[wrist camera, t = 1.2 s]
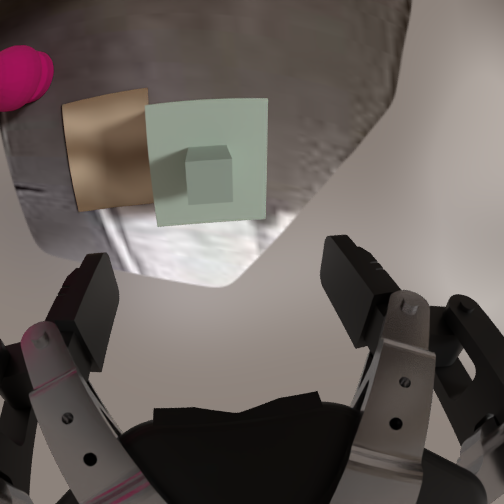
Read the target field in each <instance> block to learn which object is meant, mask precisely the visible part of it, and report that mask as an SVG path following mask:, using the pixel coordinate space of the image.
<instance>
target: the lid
mask: <svg viewBox="0 0 504 504" xmlns="http://www.w3.org/2000/svg"><path fill="white" fill-rule="evenodd" d="M145 118H146V132H147V144H148V155H149V165H150V174H151V182H152V190H153V198H154V206H155V213H156V219H157V226H158V227H162V226H174V225H186V224H199V223H212V222H226V221H241V220H256V219H265V218H266V177H267V125H268V98H222V99H202V100H188V101H177V102H167V103H158V104H150V105H145Z"/></svg>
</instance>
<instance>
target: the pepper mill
mask: <svg viewBox="0 0 504 504" xmlns="http://www.w3.org/2000/svg"><path fill="white" fill-rule="evenodd" d="M53 73H54V69H53V63H52V60H51V58H50V57H49V56H48V55H47V54H46V53H44V52H40V51H35V50H34V49H33V48H31V47H29V46H26V45H19V46H12V47H9V48H7V49H5V50H3V51H1V52H0V111H1V112H7V111H13V110H16V109H19V108H20V107H22V106H23V105H25V104H26V103H31V102H34V101H36V100H38V99H39V98H41V97H42V96H43V95H44V94H45V92H46V91H47V90H48V88H49V86H50V84H51V81H52V78H53Z"/></svg>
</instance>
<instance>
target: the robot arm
mask: <svg viewBox="0 0 504 504" xmlns="http://www.w3.org/2000/svg"><path fill="white" fill-rule="evenodd" d="M320 279H321V284H322V286H323V288H324V290H325V292H326V294H327V296H328V298H329V299H330V301H331V303H332V305H333V307H334V308H335V311H336V312H337V314H338V316H339V318H340V320H341V321H342V323H343V326H344V327H345V329H346V331H347V333H348V335H349V337H350V339H351V341H352V343H353V345H354V347H355V348H360V347H365V346H368V348H369V350H370V351H369V353H368V356H367V359H366V362H365V365H364V368H363V371H362V375H361V378H360V381H359V384H358V387H357V390H356V393H355V395H354V398H353V400H352V403H351V405H350V407H349V406H346V405H343V404H338V403H331V402H321V400H320V397H319V394H318V391H316V392H311V393H306V394H300V395H294V396H289V397H283V398H278V399H275V400H273V401H270V402H268V403H265V404H262V405H260V406H257V407H254V408H252V409H249V410H246V411H243V412H240V413H231V412H223V411H215V410H208V409H201V408H195V407H190V408H189V407H188V408H154V413H153V420H150V421H147V422H144V423H141V424H139V425H137V426H134V427H133V428H131V429H129V430H128V431H126V432H125V433H123V432H122V430H121V429H120V428H119V427H118V425H117V424H116V422H115V421H114V420H113V418H112V417H111V415H110V414H109V412H108V410H107V409H106V408H105V406H104V404H103V403H102V401H101V399H100V398H99V396H98V395H97V393H96V391H95V390H94V388H93V386H92V384H91V383H90V381H89V380H88V378H89V374H90V372H102V368H103V363H104V358H105V354H106V350H107V345H108V342H109V338H110V334H111V330H112V326H113V322H114V318H115V315H116V311H117V307H118V304H119V290H118V286H117V282H116V279H115V276H114V272H113V269H112V265H111V262H110V258H109V256H108V254H107V253H93V254H87V255H86V257H85V258H84V260H83V262H82V264H81V266H80V268H76V269H75V270H74V271H73V272H72V273H71V274H70V275H68V276H67V278H66V280H65V281H64V283H63V285H62V288H61V289H60V291H59V293H58V296H57V297H56V299H55V301H54V303H53V305H52V307H51V309H50V311H49V313H48V315H47V317H46V319H45V321H43V322H38V323H36V324H34V325H33V326H31V327H30V328H28V329H27V331H26V332H25V333H24V335H23V337H22V339H21V342H19V343H15V344H11V345H8V346H5V345H4V344H3V342H2V341H1V339H0V395H1V396H2V398H3V399H4V400H5V401H4V405H3V408H2V413H1V416H0V504H33V502H32V500H31V499H30V497H29V490H30V474H31V464H32V455H33V447H34V440H35V434H36V428H37V422H38V423H39V425H40V428H41V430H42V433H43V435H44V437H45V440H46V442H47V444H48V446H49V449H50V451H51V453H52V455H53V457H54V459H55V461H56V463H57V465H58V467H59V469H60V471H61V473H62V475H63V477H64V478H65V480H66V482H67V484H68V486H69V487H70V489H69V490H68V491H67V492H66V494H65V495H64V496H63V497H62V498H61V499H60V500H59V501H58V502H57V503H56V504H490V503H492V502H493V501H495V500H496V499H497V498H498V497H500V496H501V495H502V494H504V336H503V335H502V334H501V332H500V331H499V330H498V328H497V327H496V326H495V325H494V323H493V322H492V321H491V320H490V318H489V317H488V316H487V315H486V313H485V312H484V311H483V310H482V309H481V307H480V306H479V305H478V304H477V303H476V302H475V301H474V300H473V299H471V298H469V297H467V296H464V295H459V294H456V295H453V296H451V297H450V299H449V301H448V303H447V305H446V307H440V306H429V304H428V302H427V301H426V300H425V299H424V298H423V297H422V296H421V295H419V294H417V293H415V292H412V291H408V290H401V289H400V288H399V287H398V285H397V284H396V283H395V282H394V280H393V279H392V278H391V277H390V276H389V274H388V273H387V272H386V271H385V270H383V267H382V266H381V265H380V264H379V263H377V260H376V259H375V258H374V257H373V256H372V254H371V253H369V252H368V251H366V250H364V249H363V248H361V247H357V246H356V245H355V243H354V242H353V241H352V240H351V239H350V238H349V237H348V236H347V235H334V236H327V237H326V239H325V243H324V250H323V257H322V263H321V270H320ZM463 348H464V349H465V351H466V352H467V354H468V355H469V357H470V358H471V360H472V362H473V363H474V365H475V368H476V375H475V378H474V380H473V381H472V380H471V378H470V376H469V374H468V373H467V371H466V370H465V368H464V366H463V365H462V363H461V361H460V360H459V358H458V356H459V354H460V353H461V351H462V349H463ZM433 389H434V391H435V393H436V395H437V397H438V398H439V400H440V402H441V404H442V407H443V408H444V411H445V413H446V414H447V417H448V419H449V421H450V423H451V425H452V427H453V429H454V432H455V434H456V436H457V438H458V440H459V443H460V445H461V451H460V457H459V458H458V460H457V464H455V463H453V462H451V461H449V460H447V459H445V458H443V457H441V456H439V455H437V454H435V453H433V452H431V451H429V450H427V449H425V448H424V445H425V440H426V435H427V429H428V424H429V417H430V410H431V403H432V394H433Z"/></svg>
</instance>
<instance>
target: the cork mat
mask: <svg viewBox="0 0 504 504" xmlns="http://www.w3.org/2000/svg"><path fill="white" fill-rule="evenodd" d="M145 105H148V88H141V89H135V90H129V91H123V92H117V93H112V94H107V95H102V96H97V97H93V98H88V99H84V100H80V101H76V102H72V103H68V104H64V105H62V111H63V121H64V130H65V138H66V146H67V152H68V159H69V165H70V171H71V176H72V182H73V187H74V192H75V196H76V201H77V205H78V210H79V212H82V211H90V210H97V209H105V208H113V207H122V206H131V205H140V204H150V203H154V198H153V190H152V182H151V174H150V165H149V155H148V144H147V132H146V118H145Z"/></svg>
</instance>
